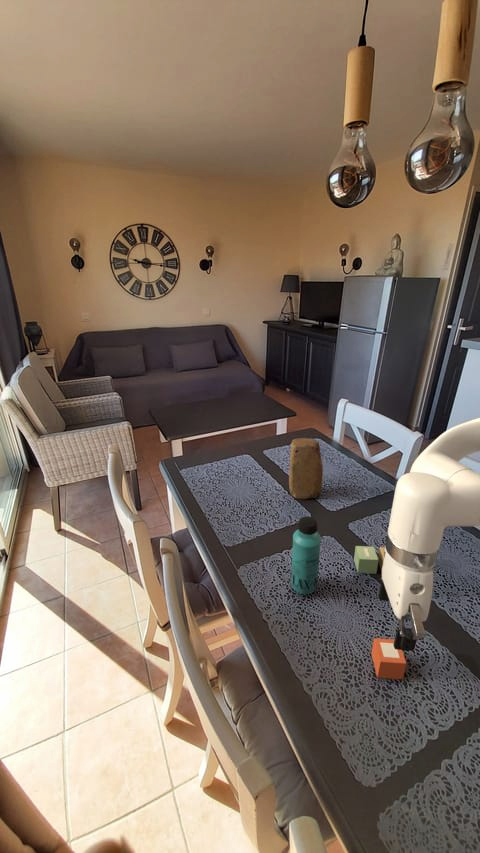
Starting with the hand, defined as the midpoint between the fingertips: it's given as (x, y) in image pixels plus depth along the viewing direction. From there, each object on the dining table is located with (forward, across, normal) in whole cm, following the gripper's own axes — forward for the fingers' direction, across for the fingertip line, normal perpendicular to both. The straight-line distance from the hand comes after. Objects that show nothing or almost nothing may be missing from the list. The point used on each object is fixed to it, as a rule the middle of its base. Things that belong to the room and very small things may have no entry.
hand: (394, 622), depth 64 cm
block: (+12, +58, +11) cm, 60 cm away
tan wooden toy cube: (+12, +26, -8) cm, 29 cm away
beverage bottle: (+12, +18, +14) cm, 26 cm away
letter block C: (+12, 0, 0) cm, 12 cm away
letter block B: (+12, +26, -2) cm, 28 cm away
